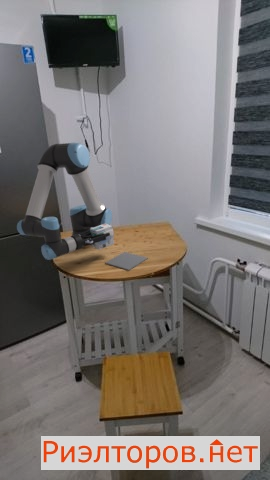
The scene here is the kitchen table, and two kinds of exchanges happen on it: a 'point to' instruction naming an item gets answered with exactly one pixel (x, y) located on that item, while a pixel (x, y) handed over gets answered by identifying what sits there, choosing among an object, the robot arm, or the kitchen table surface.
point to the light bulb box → (101, 230)
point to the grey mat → (126, 261)
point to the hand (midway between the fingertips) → (109, 230)
